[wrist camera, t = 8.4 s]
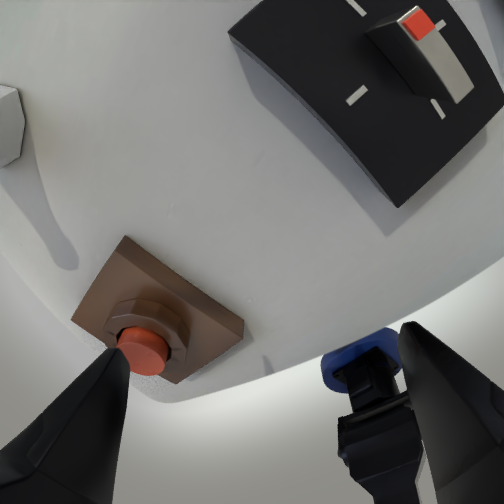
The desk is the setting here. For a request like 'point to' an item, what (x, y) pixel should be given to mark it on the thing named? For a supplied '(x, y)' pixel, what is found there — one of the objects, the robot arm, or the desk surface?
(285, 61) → the switch base
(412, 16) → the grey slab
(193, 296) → the button block
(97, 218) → the desk surface
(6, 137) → the flask
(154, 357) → the power button
